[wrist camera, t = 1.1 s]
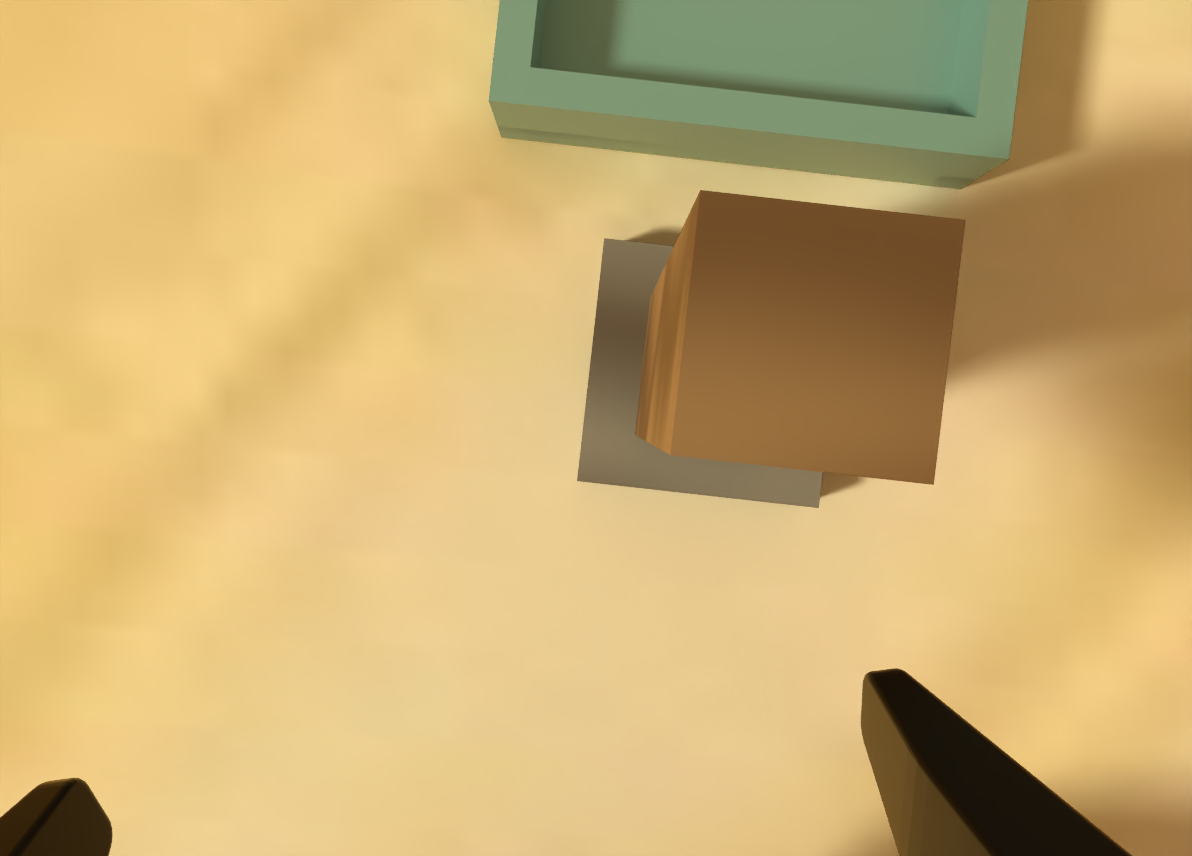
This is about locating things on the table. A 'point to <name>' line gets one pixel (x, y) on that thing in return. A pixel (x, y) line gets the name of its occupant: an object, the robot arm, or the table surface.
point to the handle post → (772, 350)
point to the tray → (768, 82)
